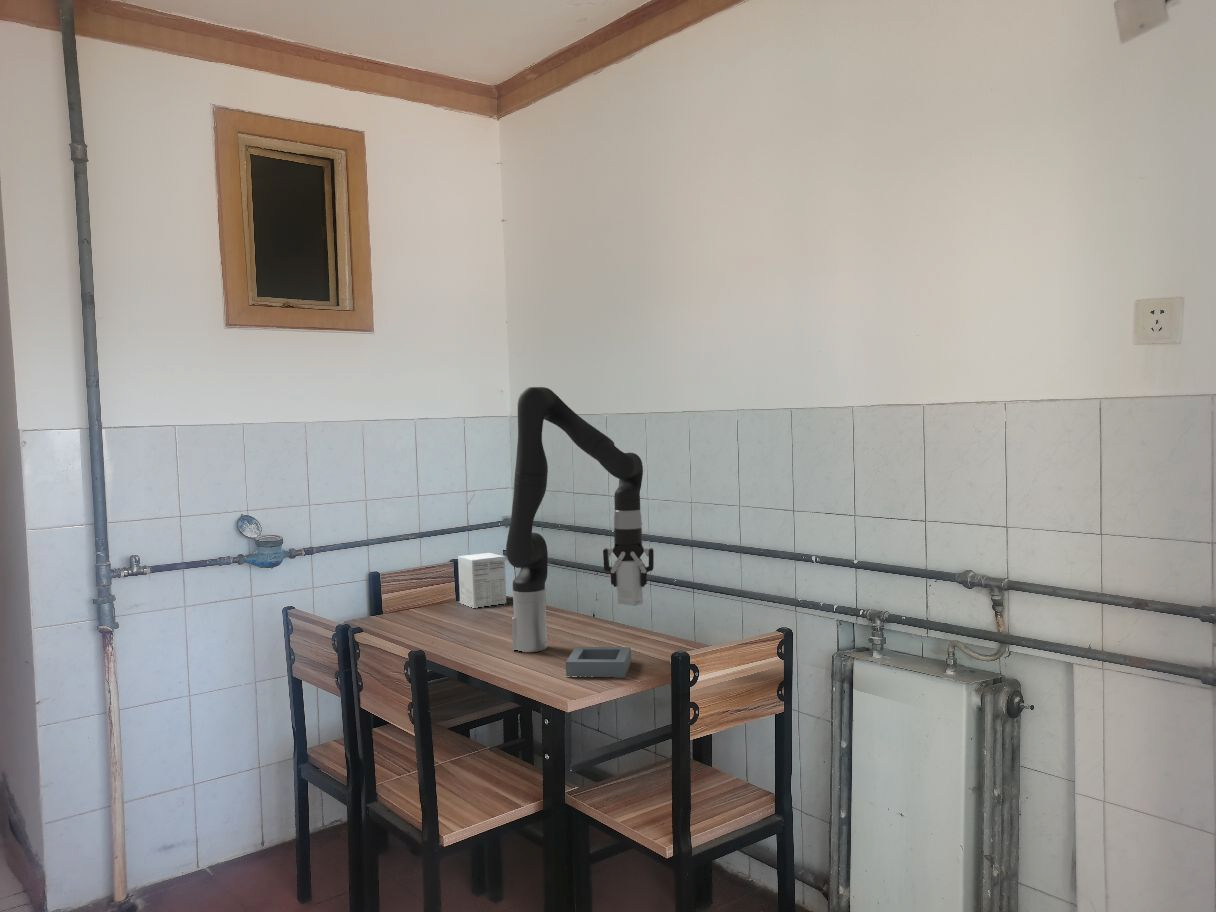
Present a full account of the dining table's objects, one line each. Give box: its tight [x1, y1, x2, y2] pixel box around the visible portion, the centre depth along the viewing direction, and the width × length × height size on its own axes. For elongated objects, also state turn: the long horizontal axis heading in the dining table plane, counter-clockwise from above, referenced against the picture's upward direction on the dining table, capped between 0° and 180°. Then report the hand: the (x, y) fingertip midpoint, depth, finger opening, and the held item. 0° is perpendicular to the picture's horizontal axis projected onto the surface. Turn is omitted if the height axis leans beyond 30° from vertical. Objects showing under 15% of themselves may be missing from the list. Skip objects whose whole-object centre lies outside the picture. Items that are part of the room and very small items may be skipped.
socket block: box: [565, 646, 632, 679], centre depth 237 cm, size 15×15×4 cm
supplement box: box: [457, 552, 507, 609], centre depth 328 cm, size 13×13×18 cm
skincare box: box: [614, 559, 644, 607], centre depth 247 cm, size 6×4×12 cm
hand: (629, 586), depth 247 cm, fingers closed on skincare box, 7 cm apart
